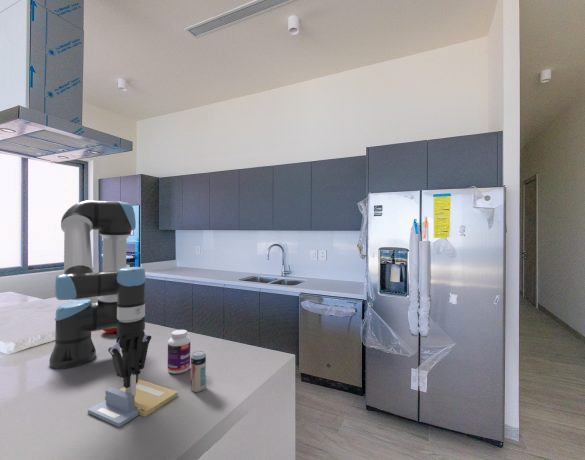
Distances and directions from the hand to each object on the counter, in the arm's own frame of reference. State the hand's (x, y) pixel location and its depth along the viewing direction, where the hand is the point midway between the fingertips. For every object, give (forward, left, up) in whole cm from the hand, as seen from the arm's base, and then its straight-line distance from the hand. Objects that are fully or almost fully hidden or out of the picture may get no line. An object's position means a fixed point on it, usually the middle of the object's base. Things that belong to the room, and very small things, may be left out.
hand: (130, 395), depth 91 cm
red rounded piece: (-64, +40, -3) cm, 76 cm away
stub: (0, -5, -2) cm, 6 cm away
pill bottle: (-4, +23, -3) cm, 23 cm away
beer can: (+12, +16, -3) cm, 20 cm away
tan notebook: (0, +4, -3) cm, 5 cm away
